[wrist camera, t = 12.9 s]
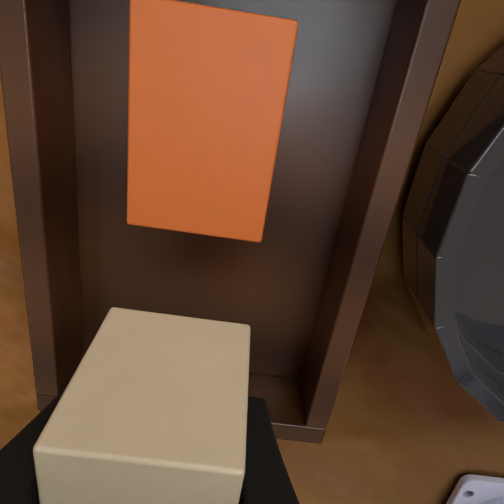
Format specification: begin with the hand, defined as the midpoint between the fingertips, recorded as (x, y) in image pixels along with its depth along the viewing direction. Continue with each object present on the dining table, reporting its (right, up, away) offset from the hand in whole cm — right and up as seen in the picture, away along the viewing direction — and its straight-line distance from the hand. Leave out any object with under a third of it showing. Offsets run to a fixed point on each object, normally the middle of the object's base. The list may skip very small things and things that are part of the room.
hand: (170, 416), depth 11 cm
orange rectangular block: (+1, +9, +2) cm, 9 cm away
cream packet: (0, 0, +1) cm, 1 cm away
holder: (+1, +6, +4) cm, 7 cm away
